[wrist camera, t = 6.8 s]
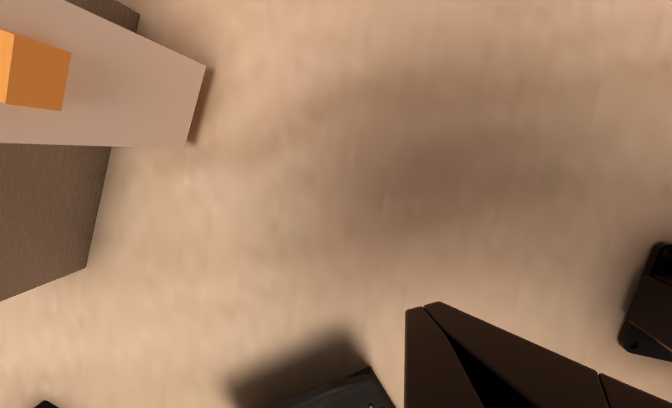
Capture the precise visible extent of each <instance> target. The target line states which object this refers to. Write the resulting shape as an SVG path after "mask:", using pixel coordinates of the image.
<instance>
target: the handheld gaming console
mask: <svg viewBox="0 0 672 408" xmlns="http://www.w3.org/2000/svg"><path fill="white" fill-rule="evenodd" d="M270 408H395V406H394V405H393V403H392V401H391V400H390V398H389V396H388V395H387V393H386V392H385V390H384V388H383V387H382V385H381V383H380V382H379V380H378V379H377V377H376V375H375V374H374V372H373V371H372V368H371V366H369V367H367V368H365V369H362V370H360V371H358V372H355V373H353V374H352V375H350V376H348V377H345V378H343V379H338V380H332V381H330V382H327V383H325V384H323V385H321V386H319V387H316V388H314V389H312V390H309V391H307V392H305V393H302V394H300V395H298V396H296V397H293V398H291V399H289V400H286V401H284V402H282V403H279V404H277V405H275V406H272V407H270Z"/></svg>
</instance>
